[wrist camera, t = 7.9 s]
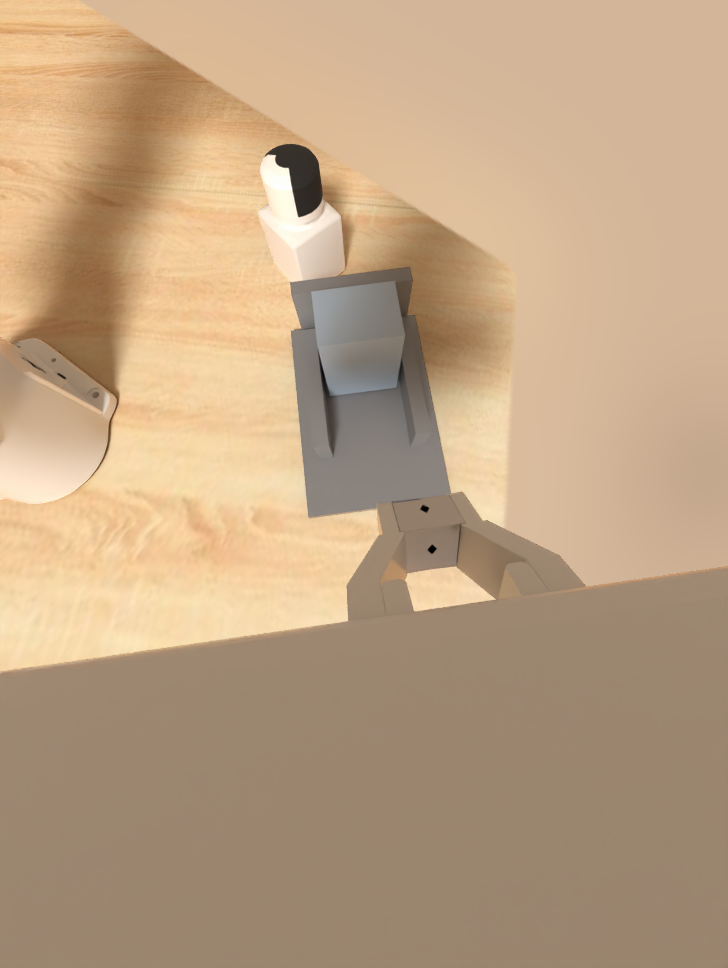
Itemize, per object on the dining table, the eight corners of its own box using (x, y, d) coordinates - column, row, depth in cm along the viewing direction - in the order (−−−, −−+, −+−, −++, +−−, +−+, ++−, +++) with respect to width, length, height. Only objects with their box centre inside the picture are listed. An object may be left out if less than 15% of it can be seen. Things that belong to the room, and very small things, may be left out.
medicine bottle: (314, 239, 43) (293, 122, 31) (346, 270, 41) (337, 160, 30) (274, 267, 42) (237, 156, 30) (306, 299, 40) (280, 197, 29)
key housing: (449, 499, 34) (476, 481, 25) (310, 518, 34) (289, 507, 25) (413, 320, 39) (426, 255, 31) (292, 336, 39) (270, 274, 30)
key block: (396, 387, 36) (405, 335, 27) (330, 396, 36) (317, 346, 27) (388, 344, 37) (394, 280, 28) (324, 352, 37) (311, 291, 28)
